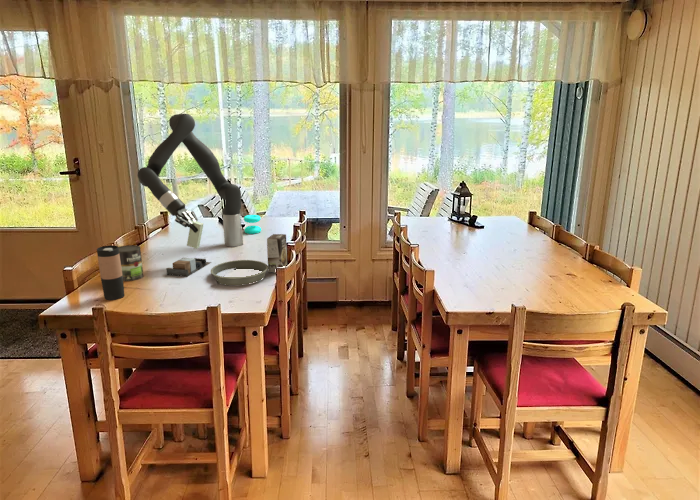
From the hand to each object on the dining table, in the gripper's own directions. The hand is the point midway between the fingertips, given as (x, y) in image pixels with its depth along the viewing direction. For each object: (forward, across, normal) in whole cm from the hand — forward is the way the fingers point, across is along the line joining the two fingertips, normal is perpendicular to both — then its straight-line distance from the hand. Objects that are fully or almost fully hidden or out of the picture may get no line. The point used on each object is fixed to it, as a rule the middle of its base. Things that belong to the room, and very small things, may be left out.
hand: (198, 230), depth 219 cm
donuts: (+10, +66, +16) cm, 69 cm away
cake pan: (+30, -10, -4) cm, 31 cm away
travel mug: (+3, -42, +22) cm, 48 cm away
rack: (+11, -7, +14) cm, 19 cm away
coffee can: (-2, -24, +27) cm, 36 cm away
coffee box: (+38, +4, -13) cm, 41 cm away
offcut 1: (+10, -13, +13) cm, 21 cm away
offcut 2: (+10, -9, +13) cm, 19 cm away
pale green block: (+3, 0, +8) cm, 9 cm away
